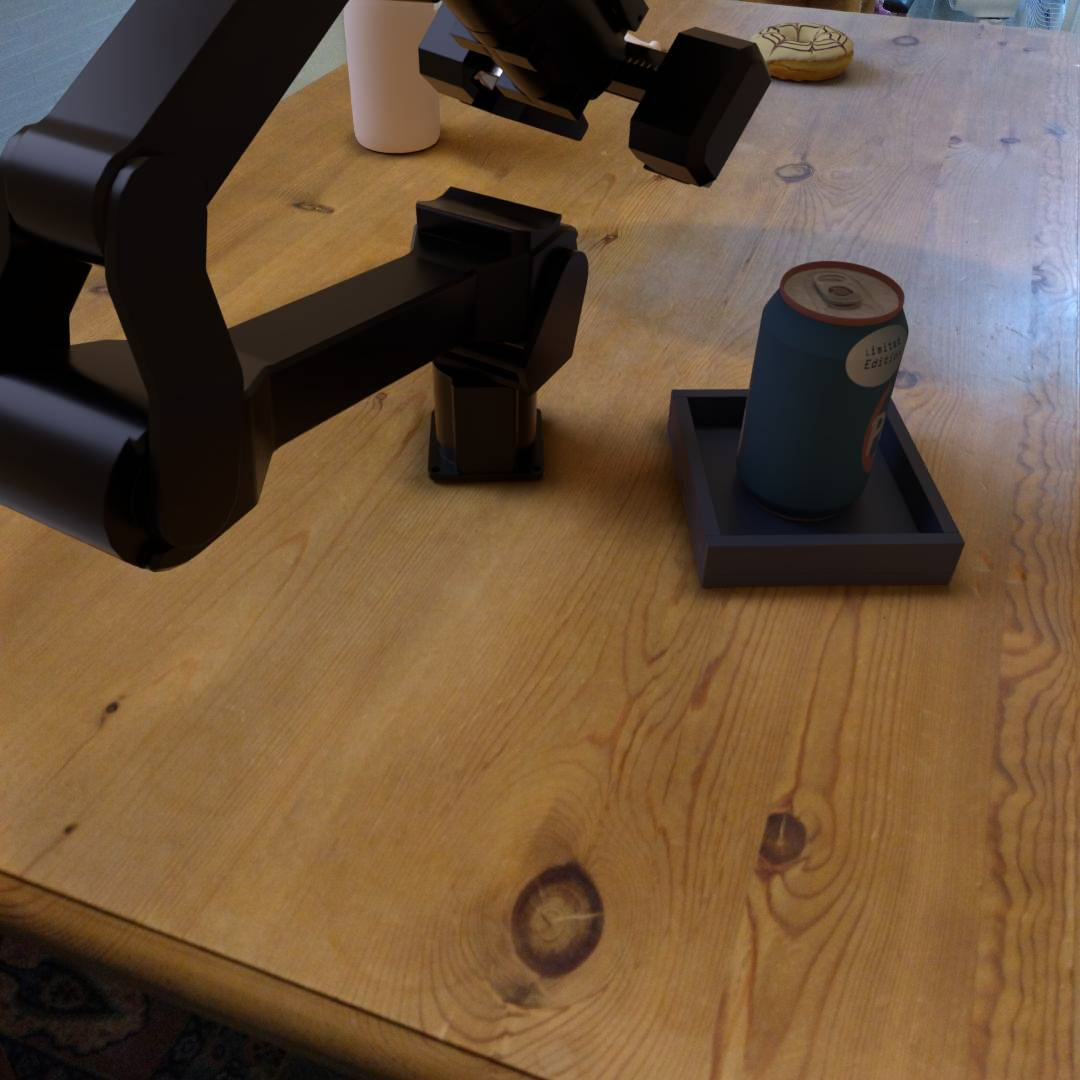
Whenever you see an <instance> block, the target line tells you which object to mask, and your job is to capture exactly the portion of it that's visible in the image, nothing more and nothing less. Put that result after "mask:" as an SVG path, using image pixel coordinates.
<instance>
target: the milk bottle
mask: <svg viewBox="0 0 1080 1080" xmlns="http://www.w3.org/2000/svg"><path fill="white" fill-rule="evenodd" d="M435 15H436V13H435V3H420V2H404V1H389V0H349V1H348V3H347V4H346V6H345V7H344V9H343V23H344V25H343V26H344V36H345V49H346V58H347V67H348V68H347V70H348V80H349V91H350V101H351V111H352V122H353V129H354V136H355V139H356V140H357V142H358V143H359V144H360V145H361V146H362V147H363V148H366V149H368V150H371V151H375V152H378V153H379V152H380V153H388V154H403V153H405V154H406V153H412V152H413V153H414V152H418V151H421V150H425V149H428V148H430V147H432V146H433V145H435V144H436V143H437V142H438V140H439V138H440V136H441V109H440V108H441V107H440V93H438V92H437V91H436V90H435V89H434V88H433V86H432V85H431V84H430V83H429V82H428V81H427V80H426V79H425V78H424V77H423V76H422V75H421V74H420V73H419V56H418V47H419V45H420V43H421V41H422V39H423V37H424V36H425V34H426V32H427V30H428V28H429V26H430V24H431V23H432V21H433V19H434V17H435Z"/></svg>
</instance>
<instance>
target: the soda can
mask: <svg viewBox="0 0 1080 1080" xmlns="http://www.w3.org/2000/svg"><path fill="white" fill-rule="evenodd" d="M905 297H906V296H905V293H904V290H903V288H902V287H901V286H900V285H899V283H897V281H896V280H894V279H893V278H892V277H890V276H889V275H888V274H885V273H883V272H881V271H879V270H877V269H875V268H872V267H869V266H865V265H862V264H859V263H854V262H847V261H839V260H817V261H810V262H804V263H801V264H798V265H795V266H793V267H791V268H790V269H788V270H787V271H786V272H785V273H784V274H783V275H782V277H781V279H780V282H779V287H778V288H777V289H776V290H775V292H774V293H773V294H772V295H771V297H769V299H768V301H767V302H766V303H765V305H764V306H763V309H762V312H761V318H760V322H759V329H758V333H757V334H758V335H757V339H756V345H755V349H754V351H755V352H754V357H753V363H752V368H751V374H750V379H749V384H748V389H749V390H748V395H747V401H746V407H745V412H744V418H743V424H742V429H741V435H740V440H739V446H738V452H737V457H736V467H737V472H738V475H739V477H740V479H741V481H742V483H743V485H744V487H745V489H746V490H747V492H748V494H749V496H750V497H751V499H752V500H753V501H754V502H755V503H756V504H757V505H758V506H760V507H761V508H763V509H764V510H766V511H768V512H769V513H771V514H774V515H776V516H779V517H782V518H785V519H789V520H795V521H819V520H824V519H828V518H830V517H833V516H835V515H837V514H838V513H840V512H841V511H842V510H844V509H845V508H846V507H848V506H849V505H851V504H852V503H853V502H854V501H855V500H857V499H858V498H859V497H860V495H861V494H862V493H863V491H864V490H865V488H866V485H867V482H868V478H869V474H870V471H871V467H872V464H873V460H874V457H875V453H876V449H877V446H878V442H879V439H880V435H881V432H882V428H883V424H884V421H885V417H886V414H887V410H888V407H889V403H890V399H891V398H892V396H893V391H894V388H895V384H896V382H897V378H898V373H899V370H900V367H901V363H902V360H903V356H904V352H905V349H906V346H907V342H908V338H909V333H910V331H909V330H910V329H909V324H908V320H907V317H906V314H905V309H904V304H905V299H906V298H905Z"/></svg>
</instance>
